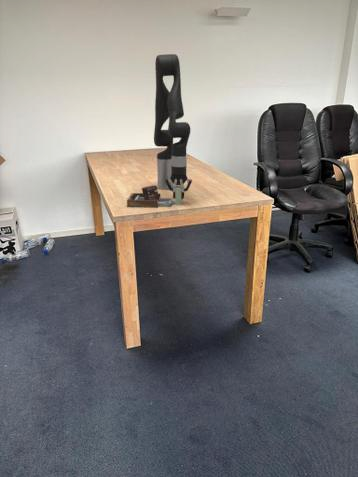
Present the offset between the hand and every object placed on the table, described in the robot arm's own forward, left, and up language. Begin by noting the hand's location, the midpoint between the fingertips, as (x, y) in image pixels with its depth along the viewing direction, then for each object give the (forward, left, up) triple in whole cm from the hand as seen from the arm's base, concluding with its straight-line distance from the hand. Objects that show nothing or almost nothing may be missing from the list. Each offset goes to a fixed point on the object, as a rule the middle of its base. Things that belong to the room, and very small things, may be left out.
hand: (178, 198), depth 183 cm
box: (0, -14, -1) cm, 14 cm away
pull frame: (0, -11, -3) cm, 11 cm away
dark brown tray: (0, -18, -3) cm, 18 cm away
